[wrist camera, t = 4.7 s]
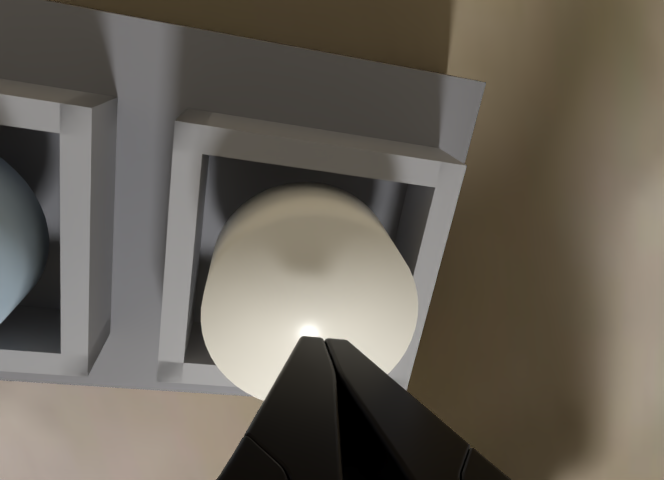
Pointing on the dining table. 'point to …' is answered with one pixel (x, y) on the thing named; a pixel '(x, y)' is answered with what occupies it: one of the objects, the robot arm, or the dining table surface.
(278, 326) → the cream button
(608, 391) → the dining table surface
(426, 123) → the button panel
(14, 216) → the slate button
